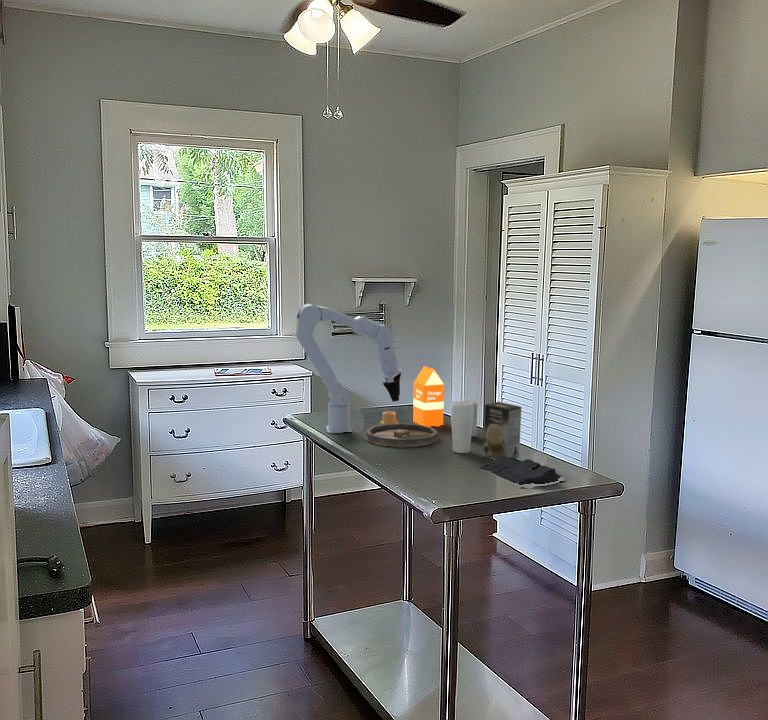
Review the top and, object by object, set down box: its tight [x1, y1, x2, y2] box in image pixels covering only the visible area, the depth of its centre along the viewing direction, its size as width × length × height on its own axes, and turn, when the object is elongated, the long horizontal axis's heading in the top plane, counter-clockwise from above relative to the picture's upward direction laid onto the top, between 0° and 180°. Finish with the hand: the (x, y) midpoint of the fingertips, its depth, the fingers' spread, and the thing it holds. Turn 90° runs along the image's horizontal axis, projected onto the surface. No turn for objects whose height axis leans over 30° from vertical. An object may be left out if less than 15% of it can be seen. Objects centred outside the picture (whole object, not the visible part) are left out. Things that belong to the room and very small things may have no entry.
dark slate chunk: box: [479, 456, 562, 485], centre depth 212 cm, size 15×22×5 cm
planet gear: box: [379, 410, 399, 425], centre depth 271 cm, size 6×6×4 cm
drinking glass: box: [450, 400, 474, 454], centre depth 235 cm, size 7×7×15 cm
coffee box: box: [482, 401, 522, 459], centre depth 228 cm, size 9×6×16 cm
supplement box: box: [465, 400, 478, 439], centre depth 255 cm, size 6×6×12 cm
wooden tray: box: [363, 422, 440, 448], centre depth 253 cm, size 24×24×3 cm
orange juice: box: [412, 365, 445, 428], centre depth 273 cm, size 8×9×20 cm
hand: (396, 398), depth 265 cm, fingers open, 7 cm apart
